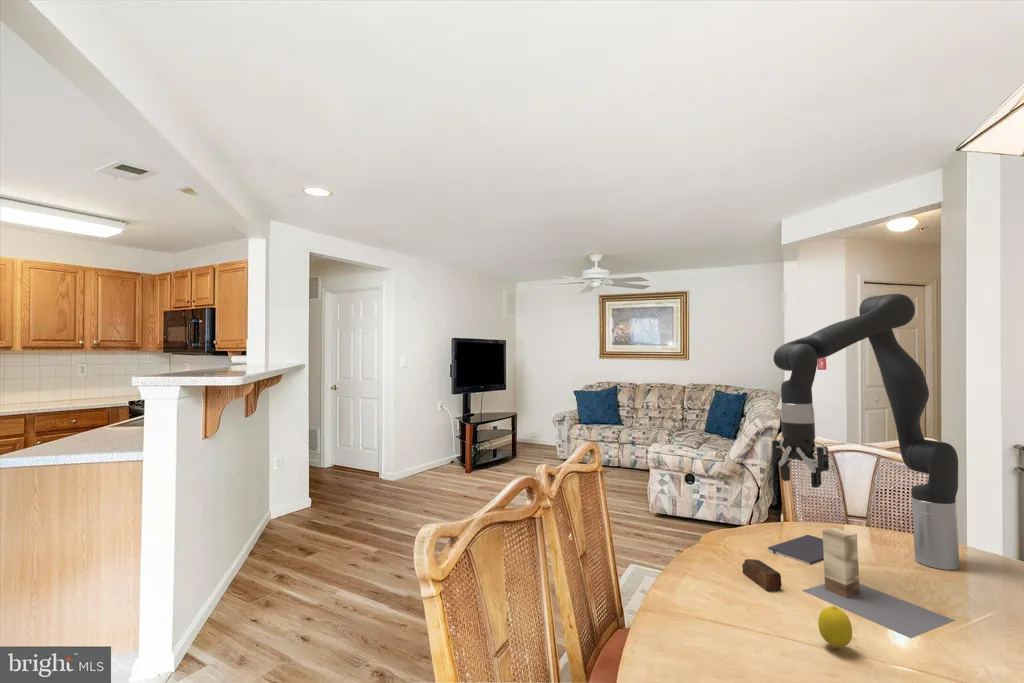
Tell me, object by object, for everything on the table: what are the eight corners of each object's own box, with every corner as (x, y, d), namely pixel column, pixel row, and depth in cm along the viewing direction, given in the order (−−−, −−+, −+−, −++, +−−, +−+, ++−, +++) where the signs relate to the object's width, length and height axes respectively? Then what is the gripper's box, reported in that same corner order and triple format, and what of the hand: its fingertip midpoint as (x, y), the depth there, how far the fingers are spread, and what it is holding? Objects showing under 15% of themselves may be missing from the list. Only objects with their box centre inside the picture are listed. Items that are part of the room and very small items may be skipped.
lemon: (812, 641, 98) (810, 600, 99) (838, 639, 99) (837, 598, 99) (833, 657, 93) (831, 614, 93) (860, 655, 93) (858, 612, 94)
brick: (782, 593, 119) (781, 573, 120) (766, 593, 119) (766, 574, 119) (756, 574, 130) (755, 556, 130) (742, 575, 129) (741, 557, 130)
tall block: (838, 585, 122) (835, 527, 122) (859, 593, 117) (856, 533, 118) (825, 589, 120) (822, 530, 120) (846, 598, 115) (843, 537, 116)
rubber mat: (844, 579, 126) (844, 577, 126) (955, 621, 105) (955, 620, 105) (802, 592, 119) (802, 590, 119) (910, 640, 98) (910, 638, 98)
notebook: (810, 568, 134) (852, 552, 144) (810, 562, 134) (851, 547, 145) (766, 553, 145) (808, 539, 155) (766, 547, 145) (807, 534, 156)
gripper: (834, 422, 124) (837, 488, 123) (782, 417, 137) (785, 476, 136) (814, 424, 121) (817, 491, 120) (763, 418, 134) (766, 479, 133)
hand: (800, 483), depth 128 cm, fingers open, 7 cm apart
